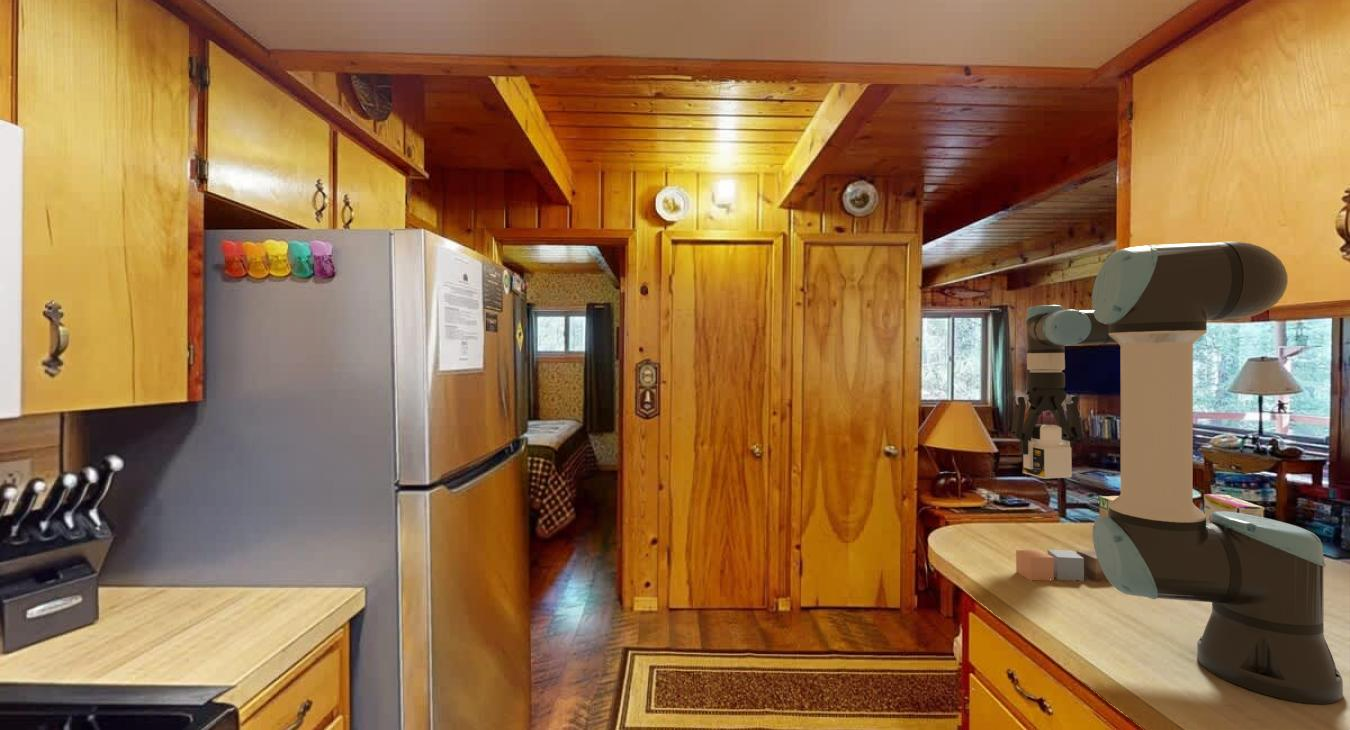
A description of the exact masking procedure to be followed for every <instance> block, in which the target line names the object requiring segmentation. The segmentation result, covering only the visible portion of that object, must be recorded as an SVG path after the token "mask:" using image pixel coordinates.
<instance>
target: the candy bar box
mask: <svg viewBox="0 0 1350 730" xmlns="http://www.w3.org/2000/svg"><path fill="white" fill-rule="evenodd" d="M1216 511H1217V512H1219V511H1227V512H1235V513H1242V514H1248V515H1253V516H1258V517H1263V518H1266V516H1265V514H1266V513H1265V512H1266V508H1265V507H1264V506H1261V505H1258V504H1255V503H1253V502H1249V501H1246V500H1243V499H1241V498H1238V497H1235V496H1232V495H1229V494H1217V493H1214V494H1212V493H1207V494H1206V493H1205V494H1203V513H1204V514H1205V515H1206V523H1211V522H1212V521H1211V520H1210V517H1211V515H1212V513H1213V512H1216Z"/></svg>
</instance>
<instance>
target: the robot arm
mask: <svg viewBox="0 0 1350 730" xmlns="http://www.w3.org/2000/svg"><path fill="white" fill-rule="evenodd" d="M1288 283H1289V281H1288V272H1287V269H1286V266H1285V265H1284V264H1283V262H1282V260H1281V259H1279V257H1277V255H1275V254H1274V253H1272V252H1271V251H1269V250H1268V249H1266V248H1264V247H1261V246H1260V245H1257V244H1252V243H1250V242H1242V241H1218V242H1196V243H1194V242H1193V243H1174V244H1172V243H1171V244H1170V243H1169V244H1149V245H1148V244H1147V245H1142V246H1134V247H1133V246H1132V247H1126V248H1121V249H1118V250H1117V251H1114V252H1113V253H1111V254H1110V255H1109V256H1108V257H1107V258H1106V259H1105V261H1104V262H1103V264H1102V265H1101V267H1100V269H1099V270H1098V272H1097V275H1096V278H1095V281H1094V284H1093V287H1092V288H1093V289H1092V295H1091V309H1081V310H1080V309H1079V310H1077V309H1072V308H1069V309H1065V308H1064V307H1063V306H1062V305H1060V304H1058V305H1057V304H1049V305H1048V304H1043V305H1036V306H1035V305H1034V306H1029V307H1028V309H1026V319H1025V325H1026V369H1027V370H1028V371H1029V372H1027V373H1026V387H1027V392H1026V393H1025V394H1024V395H1015V396H1013V402H1014V410H1013V411H1014V412H1013V419H1012V422H1011V432H1010V436H1011V437H1012V438H1014V439H1018V440H1019V452H1020V454H1023V461H1022V466H1023V465H1024V467H1025V468H1028V469H1033V441H1031V434H1032V432H1033V429H1034V427H1035V425H1036V424H1037V423H1038V420H1039V417H1040V416H1041V414H1042V413H1043V412H1046V411H1047V412H1048V411H1049V412H1050V414H1052V416H1053V419H1054V420H1055V423H1056V425H1057V426H1059V427H1061V432H1062V442H1061V443H1060V445H1064V446H1069V447H1071V455H1073V454H1074V442H1076V441H1077V440H1078V439H1081V438H1083V436H1084V435H1083V429H1082V424H1081V418H1080V413H1079V407H1078V405H1079V401H1080V398H1079V396H1078V395H1072V394H1071V395H1070V394H1069V395H1068V394H1067V393H1066V392H1065V387H1066V374H1065V372H1063V371H1065V370H1066V369H1065V368H1066V359H1065V353H1066V352H1065V347H1066V346H1084V345H1085V346H1088V345H1089V346H1090V345H1093V346H1095V345H1096V346H1097V345H1119V346H1120V348H1119V349H1120V350H1119V351H1120V354H1119V355H1120V356H1119V357H1120V371H1119V372H1120V379H1119V380H1120V494H1119V495H1118V496H1119V497H1117V498H1116V499H1114V500H1113V501H1111V502H1110V503H1109V517H1106V516H1103V517H1101V518H1100V517H1097V518H1096V519H1095V520H1094V522H1093V525H1092V542H1093V543H1092V544H1093V547H1094V550H1095V552H1096V556H1097V559H1098V561H1099V564H1100V566H1101V568H1102V571H1103V573H1104V574H1105V576H1106V578H1107V579H1108V581H1107V582H1108V583H1110V584H1111V586H1112V587H1113V588H1115V589H1116V590H1117V591H1119V592H1120V593H1122V594H1124V595H1130V596H1133V597H1134V596H1135V597H1143V598H1147V599H1151V600H1157V599H1160V600H1161V599H1162V600H1163V599H1165V600H1176V601H1189V602H1202V603H1211V606H1212V607H1211V613H1210V616H1209V618H1208V621H1207V623H1206V625H1205V628H1204V631H1203V633H1202V636H1200V637H1199V639H1198V640H1197V644H1196V652H1197V655H1196V656H1197V660H1198V662H1199V663H1200V665H1202V666H1203V667H1204V668H1205V669H1207V670H1208V671H1209V672H1211V673H1212V674H1214V675H1215V676H1217V677H1219V678H1221V679H1224V680H1225V681H1227V682H1230V683H1232V684H1234V685H1237V686H1240V687H1242V688H1245V689H1247V690H1251V691H1253V692H1256V693H1259V694H1263V695H1265V696H1266V695H1267V696H1270V697H1273V698H1274V697H1275V698H1278V699H1282V700H1286V701H1292V702H1298V703H1299V702H1300V703H1305V704H1321V705H1322V704H1323V705H1325V704H1332V703H1333V704H1334V703H1336V702H1339V701H1341V700H1342V699H1343V697H1344V694H1343V693H1344V689H1343V687H1344V686H1343V685H1344V683H1343V677H1342V675H1341V673H1340V672H1339V670H1338V669H1337V666H1336V663H1335V660H1334V657H1333V654H1332V652H1331V650H1330V648H1329V645H1328V643H1327V640H1326V638H1325V635H1324V634H1325V633H1324V632H1325V631H1324V627H1325V625H1324V621H1325V620H1324V619H1325V618H1324V615H1325V614H1324V612H1325V611H1324V610H1325V609H1324V607H1325V605H1324V601H1325V600H1324V593H1325V592H1324V591H1325V590H1324V589H1325V588H1324V584H1325V583H1324V579H1325V578H1324V577H1325V576H1324V571H1325V570H1324V568H1325V567H1326V562H1325V557H1324V551H1323V550H1324V549H1323V543H1322V541H1321V539H1320V537H1318V536H1317V535H1316V534H1315V533H1313V532H1312V531H1310V530H1307V529H1305V528H1303V527H1300V526H1298V525H1294V524H1290V523H1287V522H1283V521H1279V520H1276V519H1272V518H1267V517H1265V518H1263V517H1258V516H1253V515H1248V514H1242V513H1235V512H1227V511H1219V512H1217V511H1216V512H1213V513H1212V515H1211V517H1210V520H1211V521H1212V522H1211V523H1206V515H1205V514H1204V511H1202V510H1201V509H1200V508H1199V507H1198V506H1196V505H1195V503H1194V502H1193V496H1194V493H1193V491H1194V489H1193V480H1194V479H1193V473H1194V472H1193V471H1194V469H1193V467H1194V466H1193V463H1194V462H1193V460H1194V459H1193V457H1194V454H1193V451H1194V450H1193V449H1194V448H1193V447H1194V444H1193V441H1194V439H1193V437H1194V435H1193V433H1194V431H1193V427H1194V426H1193V425H1194V422H1193V420H1194V417H1193V416H1194V415H1193V413H1194V412H1193V411H1194V410H1193V408H1194V401H1193V400H1194V399H1193V398H1194V397H1193V396H1194V395H1193V393H1194V392H1193V391H1194V386H1193V385H1194V383H1193V381H1194V377H1193V375H1194V374H1193V373H1194V370H1193V369H1194V362H1193V361H1194V353H1193V352H1194V351H1193V350H1194V344H1195V343H1196V342H1197V341H1199V339H1200V338H1202V337H1203V336H1204V335H1205V334H1207V331H1208V330H1207V327H1208V326H1207V323H1208V322H1213V321H1219V322H1234V321H1235V322H1236V321H1239V320H1243V319H1247V318H1250V317H1255V316H1257V315H1260V314H1262V313H1265V312H1266V311H1268V310H1271V308H1273V307H1274V306H1275V305H1276V304H1278V302H1279V301H1280V300H1281V299H1282V297H1284V294H1285V292H1286V290H1287V286H1288ZM1028 402H1029V404H1030V407H1029V408H1028V411H1027V412H1028V414H1027V416H1026V418H1025V414H1026V410H1027V409H1026V408H1027V406H1026V405H1027V404H1028ZM1063 403H1065V409H1066V413H1067V417H1066V415H1065V410H1064V407H1063V406H1062V404H1063Z"/></svg>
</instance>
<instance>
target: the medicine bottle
mask: <svg viewBox="0 0 1350 730" xmlns="http://www.w3.org/2000/svg"><path fill="white" fill-rule="evenodd" d="M1062 440H1063V436H1062V432H1061V427H1059V426H1058V425H1057V424H1051V423H1036V425H1035V427H1034V429H1033V432H1032V434H1031V437H1030V441H1033V469H1028V468H1025V467H1024V465H1023V464H1022V474H1026V475H1029V476H1034V477H1038V478H1041V479H1045V480H1046V479H1063V478H1064V479H1065V478H1067V479H1068V478H1072V477H1073V473H1072V471H1073V469H1072V468H1073V465H1072V463H1073V462H1072V454H1071V447H1069V446H1064V445H1060V443H1061V442H1062ZM1021 458H1022V462H1023V454H1022V457H1021Z"/></svg>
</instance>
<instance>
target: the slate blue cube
mask: <svg viewBox="0 0 1350 730" xmlns="http://www.w3.org/2000/svg"><path fill="white" fill-rule="evenodd" d="M1047 554H1048V555H1050V556H1052V557H1054V576H1055V577H1056V578H1057V579H1060V580H1059V581H1067V580H1079V581H1078V582H1085V576H1084V558H1083V557H1081V556H1080V555H1078V554H1077V552H1076V551H1074V550H1071V549H1070V550H1065V549H1064V550H1063V549H1047ZM1055 577H1054V578H1055ZM1056 578H1055V579H1056ZM1057 579H1056V580H1057Z"/></svg>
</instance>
